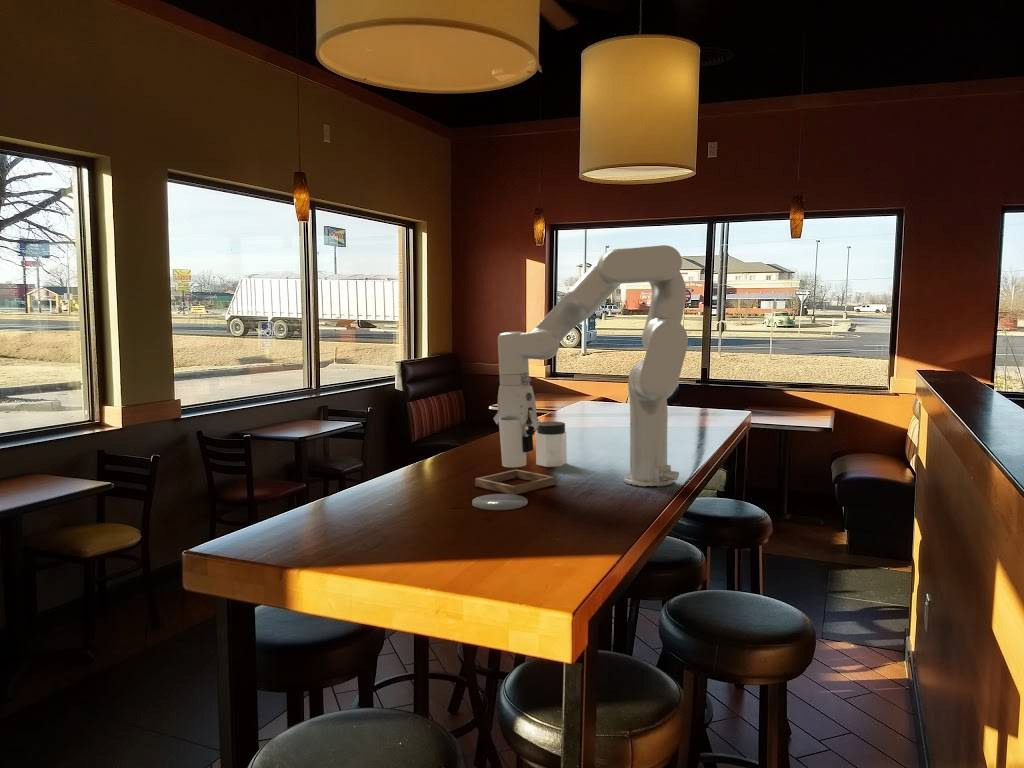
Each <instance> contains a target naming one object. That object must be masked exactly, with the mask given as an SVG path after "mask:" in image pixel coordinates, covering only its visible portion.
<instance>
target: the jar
mask: <svg viewBox="0 0 1024 768" xmlns="http://www.w3.org/2000/svg"><path fill="white" fill-rule="evenodd" d="M540 422H541V423H540V425H539V426H538V428H537V430H536V432H535V455H536V456H535V464H536V465H537V466H540V467H545V468H555V467H557V468H558V467H563V466H564V465H566V464H567V463H568V462H567V459H568V458H567V431H566V423H565V422H564V421H563V422H562V421H553V420H552V421H551V420H549V421H540Z"/></svg>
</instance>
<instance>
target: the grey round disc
mask: <svg viewBox="0 0 1024 768" xmlns="http://www.w3.org/2000/svg"><path fill="white" fill-rule="evenodd" d="M471 502H472V503H471V505H472V506H473V507H474V508H476V509H480V510H486V511H510V510H512V511H513V510H516V509H517V510H518V509H521V508H523V507H526V506H527V505H528V504H529V503H528V502H529V501H528V498H526V497H525V496H523V495H520V494H516V495H513V494H506V493H493V494H491V493H490V494H484V495H480V496H476V497H475V498H473V499H472V501H471Z"/></svg>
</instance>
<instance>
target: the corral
mask: <svg viewBox="0 0 1024 768" xmlns="http://www.w3.org/2000/svg"><path fill="white" fill-rule="evenodd" d="M555 477H556V476H553V475H547V474H541V473H538V472H537V473H536V472H531V471H527V470H522V469H521V470H520V469H516V468H515V469H512V470H508V471H503V472H499V473H494V474H490V475H486V476H480V477H476V478H474V486H475V487H476V488H477V487H478V488H481V489H486V490H490V491H493V492H498V493H501V494H513V495H520V494H525V493H527V492H532V491H535V490H540V489H543V488H547V487H551V486H554V485H556V478H555ZM513 479H521V480H526V481H527V482H523V483H519V484H515V485H511V484H506V483H503V482H505V481H509V480H513Z"/></svg>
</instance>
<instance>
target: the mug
mask: <svg viewBox="0 0 1024 768" xmlns="http://www.w3.org/2000/svg"><path fill="white" fill-rule="evenodd" d="M498 429H499V437H500V438H499V439H500V441H499V442H500V453H501V466H502V467H504V468H521V467H526V465H527V452H523V441H522V437H524V434H523V431H522V426H521V425H520V420H502V418H500V419H499V428H498Z"/></svg>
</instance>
